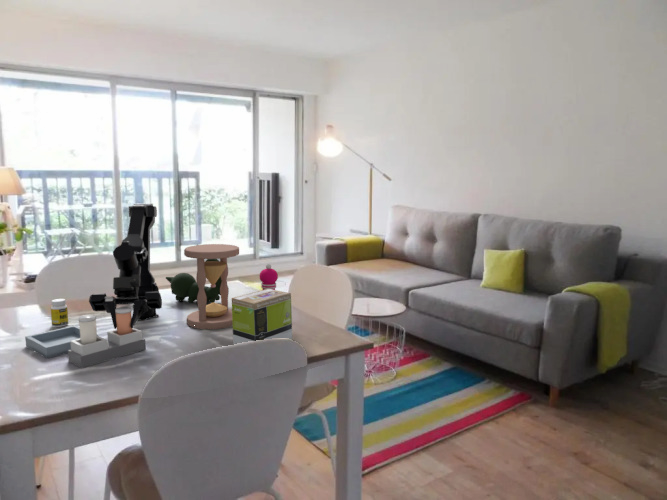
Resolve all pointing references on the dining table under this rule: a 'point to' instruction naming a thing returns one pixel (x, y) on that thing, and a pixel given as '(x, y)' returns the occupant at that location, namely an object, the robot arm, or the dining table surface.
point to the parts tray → (53, 341)
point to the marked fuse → (123, 320)
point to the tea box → (262, 316)
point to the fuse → (87, 329)
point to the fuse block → (106, 348)
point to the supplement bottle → (59, 313)
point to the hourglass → (212, 270)
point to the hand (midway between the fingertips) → (123, 327)
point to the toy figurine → (192, 287)
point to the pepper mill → (268, 278)
